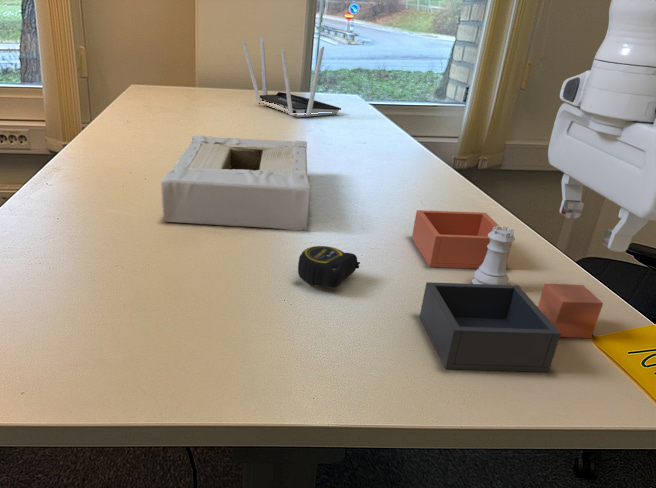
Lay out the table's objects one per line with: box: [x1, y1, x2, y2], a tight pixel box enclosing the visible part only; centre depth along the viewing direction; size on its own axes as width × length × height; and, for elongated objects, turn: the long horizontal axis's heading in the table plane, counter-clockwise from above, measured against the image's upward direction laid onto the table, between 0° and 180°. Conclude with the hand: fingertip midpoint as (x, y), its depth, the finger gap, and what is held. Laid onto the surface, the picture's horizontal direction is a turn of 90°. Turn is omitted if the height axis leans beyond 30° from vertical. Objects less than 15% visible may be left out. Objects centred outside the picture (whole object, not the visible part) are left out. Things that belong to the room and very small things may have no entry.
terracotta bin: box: [411, 209, 513, 269], centre depth 85 cm, size 11×11×5 cm
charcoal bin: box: [419, 281, 561, 373], centre depth 63 cm, size 11×11×5 cm
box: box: [160, 135, 311, 231], centre depth 104 cm, size 23×8×32 cm
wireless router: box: [241, 36, 342, 118], centre depth 177 cm, size 34×23×20 cm
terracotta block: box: [537, 283, 604, 339], centre depth 67 cm, size 4×4×4 cm
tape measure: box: [297, 245, 361, 289], centre depth 75 cm, size 7×7×4 cm
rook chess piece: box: [471, 225, 516, 285], centre depth 74 cm, size 4×4×8 cm
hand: (589, 231), depth 62 cm, fingers open, 8 cm apart
